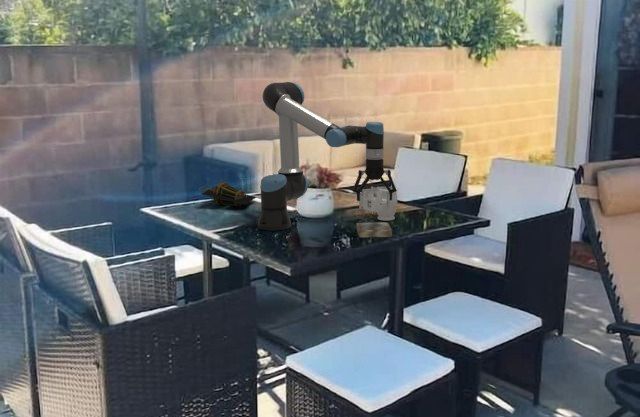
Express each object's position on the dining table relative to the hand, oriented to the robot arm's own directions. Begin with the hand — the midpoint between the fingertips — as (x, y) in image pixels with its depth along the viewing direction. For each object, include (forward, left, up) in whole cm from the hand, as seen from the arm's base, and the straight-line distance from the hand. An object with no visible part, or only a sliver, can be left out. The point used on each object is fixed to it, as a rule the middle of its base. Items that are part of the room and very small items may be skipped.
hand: (374, 208), depth 293 cm
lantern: (-72, +64, -12) cm, 97 cm away
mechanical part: (0, 0, -2) cm, 2 cm away
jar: (+9, +27, -11) cm, 31 cm away
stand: (0, 0, -11) cm, 11 cm away
